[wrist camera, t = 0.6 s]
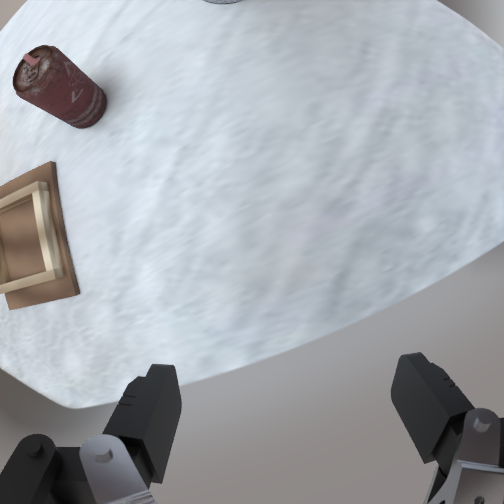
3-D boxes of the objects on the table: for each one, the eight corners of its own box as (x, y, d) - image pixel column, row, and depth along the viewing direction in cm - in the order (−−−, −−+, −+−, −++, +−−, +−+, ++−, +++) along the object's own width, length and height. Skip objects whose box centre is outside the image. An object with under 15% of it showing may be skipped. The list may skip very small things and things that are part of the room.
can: (88, 80, 32) (38, 34, 18) (115, 100, 33) (66, 52, 19) (61, 115, 33) (1, 81, 19) (86, 137, 33) (25, 104, 19)
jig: (-9, 194, 33) (-24, 193, 29) (54, 162, 33) (40, 158, 30) (13, 308, 35) (-1, 314, 31) (80, 293, 35) (66, 300, 31)
